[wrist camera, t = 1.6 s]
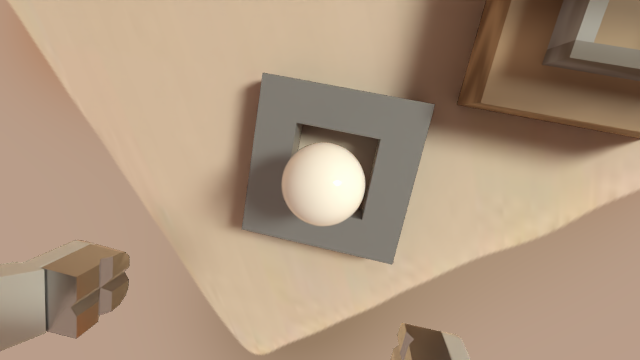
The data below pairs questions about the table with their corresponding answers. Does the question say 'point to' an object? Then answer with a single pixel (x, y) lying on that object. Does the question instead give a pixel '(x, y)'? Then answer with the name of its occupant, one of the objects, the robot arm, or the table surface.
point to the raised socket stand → (559, 63)
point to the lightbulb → (323, 184)
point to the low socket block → (346, 116)
